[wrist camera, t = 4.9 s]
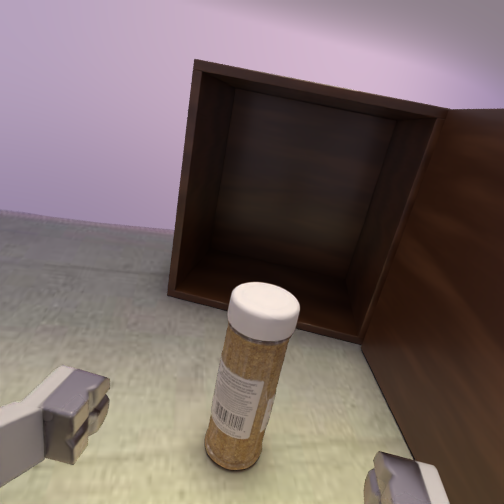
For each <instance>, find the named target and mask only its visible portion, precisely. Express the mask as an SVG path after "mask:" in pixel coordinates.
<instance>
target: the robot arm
mask: <svg viewBox="0 0 504 504" xmlns="http://www.w3.org/2000/svg"><path fill="white" fill-rule="evenodd" d="M109 389H110V379H109V378H107V377H103V376H100V375H97V374H93V373H90V372H87V371H83V370H80V369H76V368H72V367H69V366H66V365H61V366H59V367H57V368H56V369H55V370H54V371H53V372H52V373H50V374H49V375H48V376H47V377H46V378H45V379H44V380H43V381H42V382H41V383H40V384H39V385H38V386H37V387H36V388H35V389H33V390H32V391H31V392H30V393H29V394H28V395H27V396H26V397H25V398H24V399H23V400H22V401H21V402H17V401H14V402H11V403H9V404H6V405H4V406H1V407H0V487H2V486H4V485H5V484H7V483H8V482H10V481H12V480H13V479H15V478H16V477H18V476H19V475H21V474H23V473H24V472H26V471H27V470H29V469H30V468H32V467H34V466H35V465H37V464H38V463H40V462H42V461H43V460H44V459H45V458H48V459H52V460H55V461H59V462H63V463H67V464H71V465H74V464H75V462H76V461H77V460H78V458H79V457H80V455H81V454H82V453H83V451H84V450H85V448H86V447H87V446H88V436H90V435H92V434H94V433H96V432H97V431H98V430H99V428H100V427H101V425H102V424H103V422H104V420H105V417H106V415H107V412H108V408H109V398H108V396H107V395H106V393H107V391H108V390H109ZM373 461H374V467H375V468H374V469H372V470H370V471H369V472H368V474H367V477H366V479H365V485H364V504H450V503H449V500H448V497H447V495H446V492H445V489H444V487H443V484H442V482H441V479H440V476H439V474H438V471H437V469H436V468H435V466H434V465H430V464H426V463H422V462H418V461H414V460H411V459H407V458H403V457H399V456H395V455H392V454H388V453H384V452H380V451H379V452H378V453H377V454H376V456H375V458H374V460H373Z"/></svg>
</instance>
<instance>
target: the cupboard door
mask: <svg viewBox="0 0 504 504" xmlns="http://www.w3.org/2000/svg"><path fill="white" fill-rule="evenodd" d="M361 349H362V351H363V353H364V355H365V357H366V359H367V361H368V363H369V365H370V367H371V369H372V371H373V373H374V375H375V378H376V380H377V382H378V384H379V386H380V388H381V390H382V392H383V394H384V396H385V398H386V400H387V402H388V404H389V406H390V409H391V411H392V413H393V415H394V417H395V419H396V421H397V423H398V425H399V427H400V429H401V431H402V433H403V435H404V437H405V440H406V442H407V444H408V446H409V448H410V450H411V452H412V454H413V456H414V458H415V460H416V461H418V462H422V463H426V464H430V465H434V466H435V468H436V469H437V471H438V474H439V476H440V479H441V482H442V484H443V487H444V489H445V492H446V495H447V497H448V500H449V503H450V504H504V109H449V111H448V114H447V116H446V119H445V122H444V125H443V127H442V130H441V133H440V135H439V138H438V141H437V143H436V146H435V149H434V152H433V154H432V157H431V160H430V162H429V165H428V168H427V170H426V173H425V176H424V179H423V181H422V184H421V187H420V189H419V192H418V195H417V197H416V200H415V203H414V206H413V208H412V211H411V214H410V216H409V219H408V222H407V224H406V227H405V230H404V233H403V235H402V238H401V241H400V243H399V246H398V249H397V251H396V254H395V257H394V260H393V262H392V265H391V268H390V270H389V273H388V276H387V278H386V281H385V284H384V287H383V289H382V292H381V295H380V297H379V300H378V303H377V305H376V308H375V311H374V314H373V316H372V319H371V322H370V324H369V327H368V330H367V332H366V335H365V338H364V340H363V343H362V346H361Z"/></svg>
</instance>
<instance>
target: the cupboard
mask: <svg viewBox="0 0 504 504" xmlns="http://www.w3.org/2000/svg"><path fill="white" fill-rule="evenodd" d="M193 69H194V70H193V74H192V83H191V92H190V101H189V109H188V118H187V126H186V135H185V144H184V153H183V162H182V170H181V178H180V187H179V196H178V205H177V213H176V222H175V231H174V239H173V248H172V257H171V265H170V274H169V283H168V292H167V295H168V296H172V297H176V298H180V299H184V300H188V301H192V302H195V303H199V304H203V305H207V306H211V307H215V308H219V309H223V310H227V311H228V307H229V303H230V298H231V294H232V291H233V290H234V289H235V288H236V287H237V286H239V285H241V284H244V283H250V282H261V283H268V284H272V285H275V286H278V287H280V288H283V289H285V290H286V291H288V292H290V293H291V294H292V295H293V296H294V297H295V298H296V299H297V300H298V302H299V305H300V311H299V316H298V320H297V324H296V328H298V329H302V330H305V331H309V332H313V333H317V334H321V335H325V336H329V337H333V338H337V339H341V340H345V341H349V342H353V343H356V344H360V345H362V343H363V340H364V338H365V335H366V332H367V330H368V327H369V324H370V322H371V319H372V316H373V314H374V311H375V308H376V305H377V303H378V300H379V297H380V295H381V292H382V289H383V287H384V284H385V281H386V278H387V276H388V273H389V270H390V268H391V265H392V262H393V260H394V257H395V254H396V251H397V249H398V246H399V243H400V241H401V238H402V235H403V233H404V230H405V227H406V224H407V222H408V219H409V216H410V214H411V211H412V208H413V206H414V203H415V200H416V197H417V195H418V192H419V189H420V187H421V184H422V181H423V179H424V176H425V173H426V170H427V168H428V165H429V162H430V160H431V157H432V154H433V152H434V149H435V146H436V143H437V141H438V138H439V135H440V133H441V130H442V127H443V125H444V122H445V119H446V116H447V114H448V111H449V109H448V108H443V107H438V106H433V105H428V104H423V103H417V102H413V101H407V100H402V99H397V98H392V97H387V96H382V95H377V94H371V93H366V92H361V91H356V90H351V89H346V88H340V87H336V86H331V85H325V84H321V83H315V82H310V81H305V80H300V79H295V78H289V77H285V76H280V75H274V74H269V73H264V72H259V71H254V70H248V69H244V68H239V67H234V66H229V65H223V64H218V63H213V62H208V61H203V60H198V59H194V66H193Z"/></svg>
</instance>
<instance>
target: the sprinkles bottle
mask: <svg viewBox="0 0 504 504" xmlns="http://www.w3.org/2000/svg"><path fill="white" fill-rule="evenodd" d="M299 311H300V305H299V302H298V300H297V299H296V298H295V297H294V296H293V295H292V294H291V293H290V292H288V291H286V290H285V289H283V288H280V287H278V286H275V285H272V284H268V283H261V282H250V283H244V284H241V285H239V286H237V287H236V288H235V289H234V290H233V291H232V294H231V298H230V303H229V307H228V314H227V316H228V322H229V323H228V328H227V333H226V337H225V342H224V347H223V351H222V354H221V359H220V364H219V370H218V375H217V380H216V385H215V391H214V396H213V401H212V407H211V417H210V423H209V428H208V430H207V432H206V437H205V447H206V450H207V453H208V455H209V456H210V458H211V459H212V460H213V461H215V462H216V463H217V464H218V465H220V466H222V467H224V468H226V469H230V470H240V469H246V468H248V467H250V466H251V465H253V464H254V463H255V462H256V460H257V459H258V457H259V455H260V454H261V451H262V440H263V436H264V433H265V429H266V426H267V424H268V421H269V418H270V414H271V410H272V406H273V402H274V399H275V395H276V387H277V384H278V380H279V376H280V372H281V368H282V365H283V361H284V357H285V353H286V349H287V345H288V342H289V339H290V337H291V335H292V334H293V332H294V331H295V328H296V324H297V320H298V316H299Z"/></svg>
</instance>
